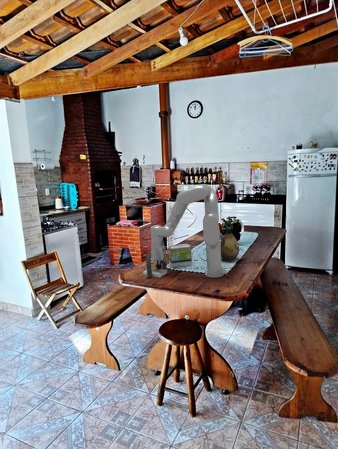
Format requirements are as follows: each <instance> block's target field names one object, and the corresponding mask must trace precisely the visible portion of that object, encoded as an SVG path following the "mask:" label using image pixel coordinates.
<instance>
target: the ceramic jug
mask: <svg viewBox="0 0 338 449" xmlns="http://www.w3.org/2000/svg"><path fill="white" fill-rule="evenodd" d="M225 228H226V232H225V234H224V235H223V236H222V237H221V262H226V263H227V262H228V263H229V262H234V261H235V260H236V259H237V257H238V256H239V253H240V246H239V243H238V241H237V239H236V237H235V236H234V234H233V233H232V228H233V224H232V220H231V219H227V223H225Z"/></svg>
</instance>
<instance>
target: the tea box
mask: <svg viewBox="0 0 338 449" xmlns="http://www.w3.org/2000/svg"><path fill="white" fill-rule="evenodd" d="M192 256H193V254H192V246H191V245H190V244H189V243H182V244H181V243H179V244H171V245H168V258H169V265H170V267H171V266H172V267H171V268H172V269H173V267H175V268H180V267H179V266H183V267H189V266H188V265H192V266H193V257H192Z"/></svg>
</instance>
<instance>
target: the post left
mask: <svg viewBox="0 0 338 449" xmlns="http://www.w3.org/2000/svg"><path fill="white" fill-rule="evenodd" d="M145 263H146V264H145V265H146V270H147V275H146V276H147V279H153V276H152V258H151V253H146V254H145Z"/></svg>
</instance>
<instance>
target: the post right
mask: <svg viewBox="0 0 338 449" xmlns="http://www.w3.org/2000/svg"><path fill="white" fill-rule="evenodd" d="M165 260H166V261H165V262H162V269H166V270H167V271H168V266H167V258H166V259H165Z"/></svg>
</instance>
